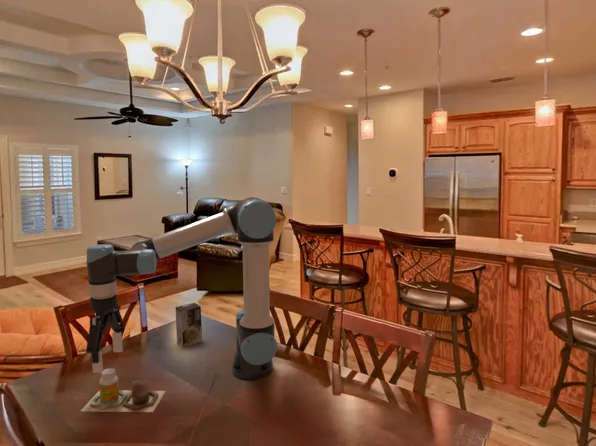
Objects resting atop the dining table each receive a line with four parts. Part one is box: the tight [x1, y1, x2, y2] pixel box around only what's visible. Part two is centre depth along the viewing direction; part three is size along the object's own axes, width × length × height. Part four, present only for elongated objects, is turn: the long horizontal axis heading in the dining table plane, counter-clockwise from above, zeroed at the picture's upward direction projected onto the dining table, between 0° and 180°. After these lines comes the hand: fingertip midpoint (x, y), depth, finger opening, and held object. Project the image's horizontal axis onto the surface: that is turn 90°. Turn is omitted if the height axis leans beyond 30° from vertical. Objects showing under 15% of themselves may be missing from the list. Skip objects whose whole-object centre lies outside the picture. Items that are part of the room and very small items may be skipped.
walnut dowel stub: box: [131, 378, 150, 405], centre depth 130 cm, size 5×5×6 cm
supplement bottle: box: [98, 367, 120, 405], centre depth 130 cm, size 5×5×10 cm
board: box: [80, 389, 167, 413], centre depth 131 cm, size 22×12×2 cm, turn 90°
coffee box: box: [175, 302, 203, 348], centre depth 177 cm, size 9×6×16 cm
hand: (108, 361), depth 129 cm, fingers open, 13 cm apart
